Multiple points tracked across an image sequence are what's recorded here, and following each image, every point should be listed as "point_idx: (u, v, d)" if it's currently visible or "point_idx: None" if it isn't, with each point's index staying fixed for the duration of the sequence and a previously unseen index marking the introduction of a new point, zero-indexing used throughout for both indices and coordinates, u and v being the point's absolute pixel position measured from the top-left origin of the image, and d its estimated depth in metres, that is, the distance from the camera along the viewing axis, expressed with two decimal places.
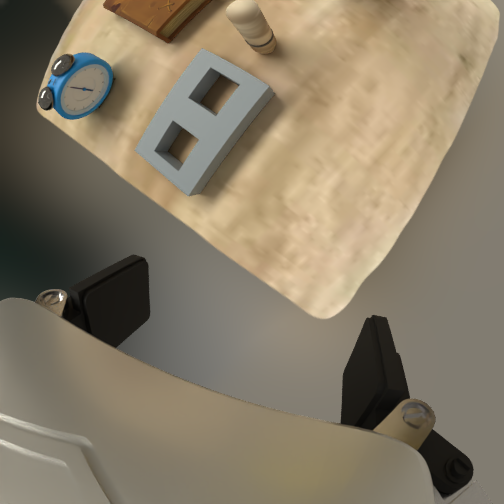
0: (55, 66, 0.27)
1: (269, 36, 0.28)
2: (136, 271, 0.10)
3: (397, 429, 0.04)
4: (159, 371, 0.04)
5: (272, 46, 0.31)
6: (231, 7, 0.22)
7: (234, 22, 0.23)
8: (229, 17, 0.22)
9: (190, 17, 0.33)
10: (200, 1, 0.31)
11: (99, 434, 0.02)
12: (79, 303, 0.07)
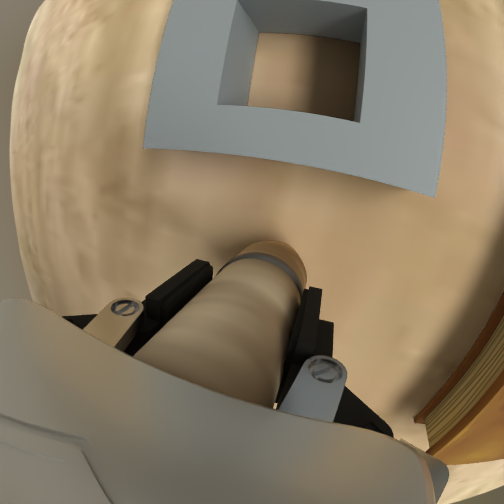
0: None
1: None
2: (204, 276, 0.11)
3: (311, 387, 0.06)
4: (159, 371, 0.04)
5: None
6: None
7: None
8: None
9: None
10: (487, 354, 0.12)
11: (99, 434, 0.02)
12: (158, 312, 0.08)
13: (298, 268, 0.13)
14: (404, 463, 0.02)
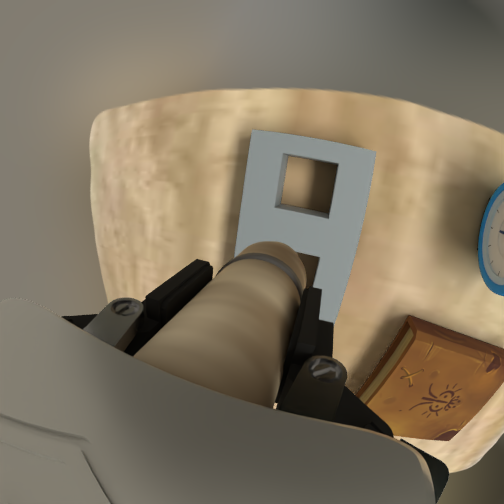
0: None
1: None
2: (204, 276, 0.11)
3: (311, 387, 0.06)
4: (159, 371, 0.04)
5: None
6: None
7: None
8: None
9: (388, 353, 0.33)
10: (380, 375, 0.33)
11: (99, 434, 0.02)
12: (158, 312, 0.08)
13: (298, 269, 0.13)
14: (404, 463, 0.02)
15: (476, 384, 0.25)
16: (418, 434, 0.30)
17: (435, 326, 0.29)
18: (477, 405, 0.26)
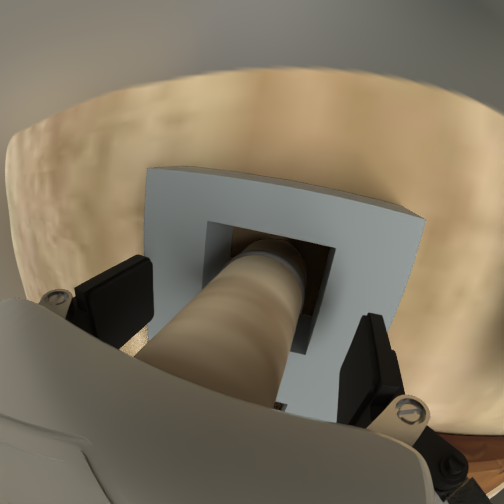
0: None
1: None
2: (141, 271, 0.10)
3: (392, 425, 0.04)
4: (159, 371, 0.04)
5: None
6: None
7: (169, 364, 0.05)
8: None
9: None
10: None
11: (99, 434, 0.02)
12: (84, 303, 0.08)
13: (299, 265, 0.13)
14: (404, 463, 0.02)
15: (484, 484, 0.12)
16: None
17: (454, 440, 0.15)
18: None
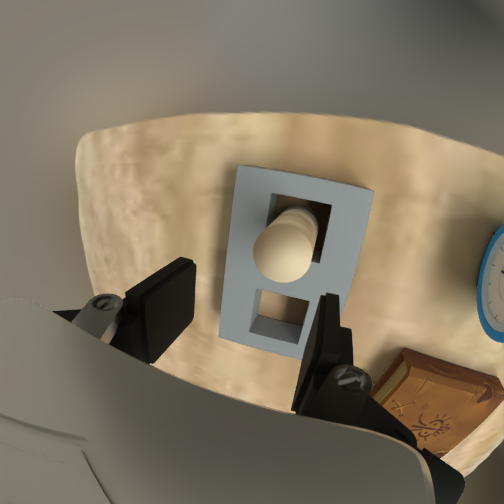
0: None
1: None
2: (187, 273, 0.11)
3: (335, 396, 0.05)
4: (159, 371, 0.04)
5: None
6: (303, 256, 0.18)
7: (283, 224, 0.18)
8: (294, 232, 0.17)
9: (381, 382, 0.32)
10: None
11: (99, 434, 0.02)
12: (137, 307, 0.08)
13: (314, 216, 0.26)
14: (404, 463, 0.02)
15: (466, 413, 0.24)
16: None
17: (430, 359, 0.28)
18: (466, 431, 0.25)
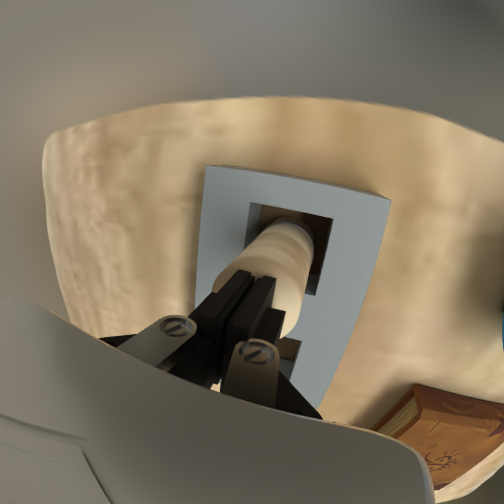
0: None
1: None
2: (249, 287, 0.10)
3: (246, 372, 0.06)
4: (159, 371, 0.04)
5: None
6: (286, 308, 0.11)
7: (256, 259, 0.11)
8: (272, 272, 0.11)
9: (386, 418, 0.25)
10: None
11: (99, 434, 0.02)
12: (212, 329, 0.08)
13: (309, 232, 0.19)
14: (404, 463, 0.02)
15: (476, 447, 0.18)
16: None
17: (443, 394, 0.22)
18: (473, 462, 0.19)
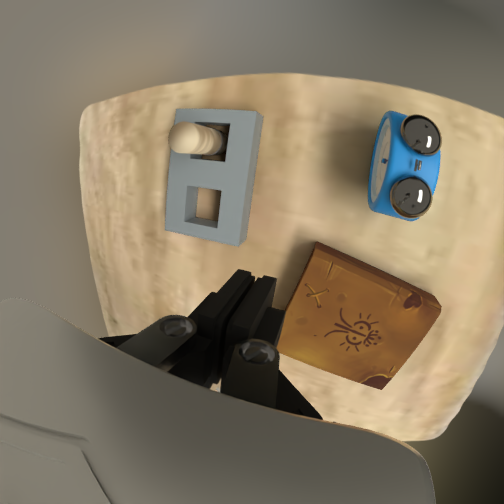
0: (413, 194, 0.22)
1: None
2: (249, 287, 0.10)
3: (246, 372, 0.06)
4: (159, 371, 0.04)
5: None
6: (192, 135, 0.29)
7: None
8: (187, 123, 0.29)
9: (302, 277, 0.43)
10: None
11: (99, 434, 0.02)
12: (212, 330, 0.08)
13: (223, 134, 0.38)
14: (404, 463, 0.02)
15: (395, 320, 0.36)
16: (342, 372, 0.41)
17: (343, 254, 0.40)
18: (404, 349, 0.37)
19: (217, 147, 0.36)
